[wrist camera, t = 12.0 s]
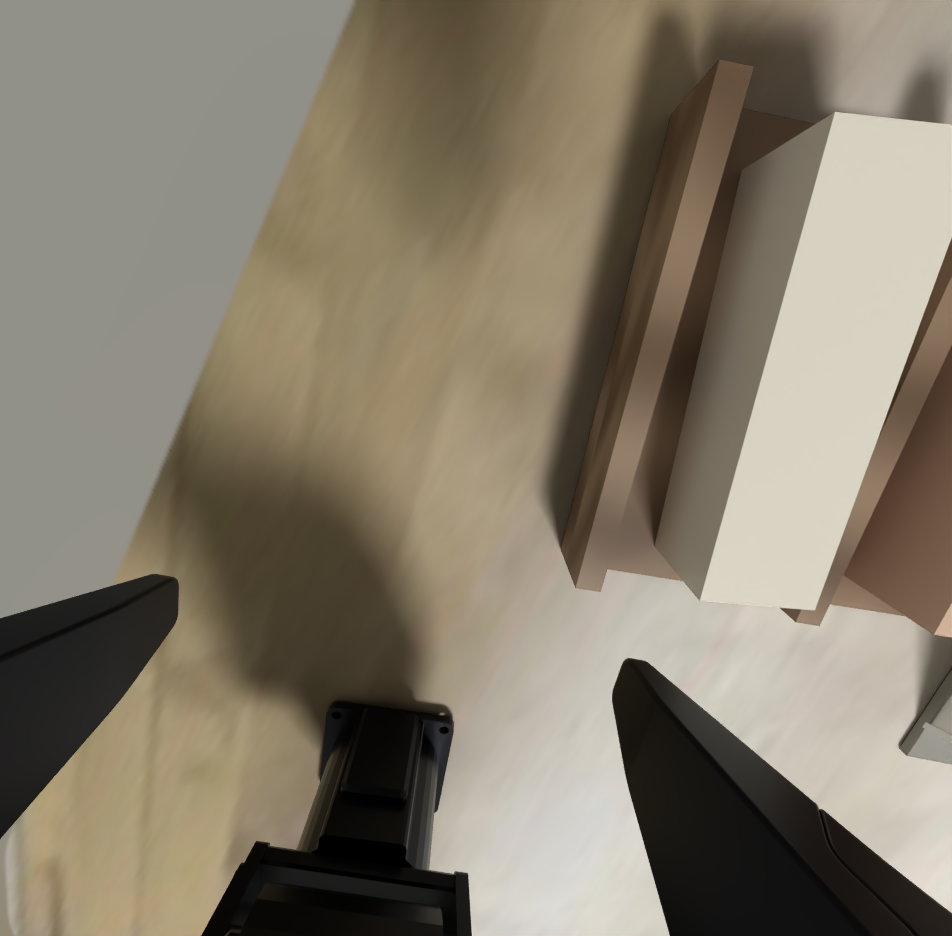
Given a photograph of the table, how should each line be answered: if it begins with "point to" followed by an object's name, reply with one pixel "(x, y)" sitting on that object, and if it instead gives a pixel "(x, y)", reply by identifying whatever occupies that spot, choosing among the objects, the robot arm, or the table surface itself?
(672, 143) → the drying rack
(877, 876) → the robot arm
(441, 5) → the table surface
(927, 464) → the light brown wooden block
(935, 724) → the skyscraper
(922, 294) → the clay strip
